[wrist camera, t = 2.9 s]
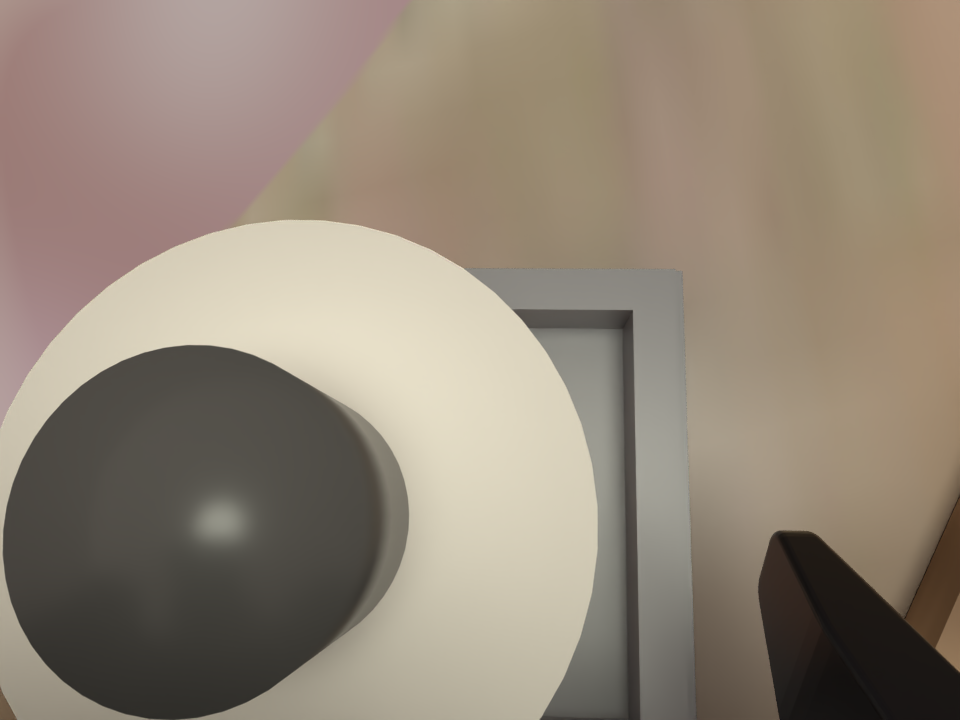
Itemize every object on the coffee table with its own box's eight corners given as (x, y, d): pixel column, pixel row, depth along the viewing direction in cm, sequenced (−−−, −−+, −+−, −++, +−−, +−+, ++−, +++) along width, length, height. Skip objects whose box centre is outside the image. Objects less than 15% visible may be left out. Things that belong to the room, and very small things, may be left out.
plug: (411, 737, 14) (0, 1632, 3) (228, 489, 15) (-595, 445, 4) (650, 530, 15) (1085, 615, 3) (456, 303, 16) (299, -206, 4)
